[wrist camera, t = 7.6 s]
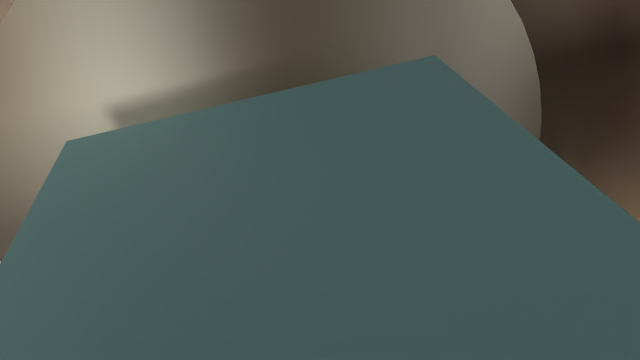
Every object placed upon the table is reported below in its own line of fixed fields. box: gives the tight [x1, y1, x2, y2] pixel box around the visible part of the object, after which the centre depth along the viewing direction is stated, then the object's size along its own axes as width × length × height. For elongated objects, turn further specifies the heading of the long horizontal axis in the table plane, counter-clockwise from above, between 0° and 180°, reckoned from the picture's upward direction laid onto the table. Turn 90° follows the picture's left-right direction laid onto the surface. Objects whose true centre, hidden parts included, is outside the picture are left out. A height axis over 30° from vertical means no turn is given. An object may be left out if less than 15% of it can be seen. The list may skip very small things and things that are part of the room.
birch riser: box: [0, 0, 542, 262], centre depth 13 cm, size 12×12×4 cm
